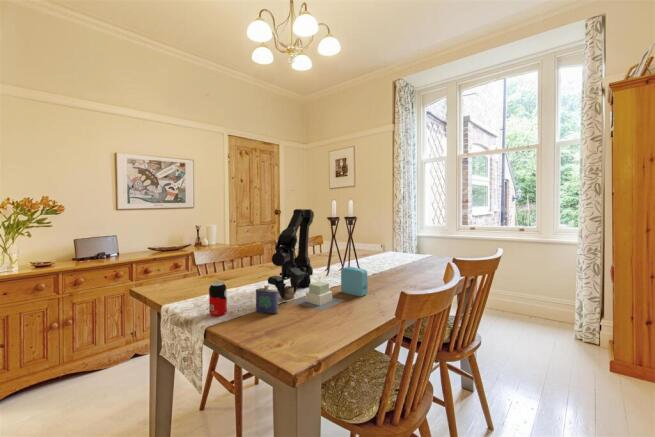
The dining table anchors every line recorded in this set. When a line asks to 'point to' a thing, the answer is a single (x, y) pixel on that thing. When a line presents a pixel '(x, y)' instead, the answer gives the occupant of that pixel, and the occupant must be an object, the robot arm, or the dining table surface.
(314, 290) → the tower top
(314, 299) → the tower base
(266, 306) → the flask
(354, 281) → the data package
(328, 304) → the slate mat
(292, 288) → the brown small cylinder
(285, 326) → the dining table surface
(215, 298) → the beverage can
